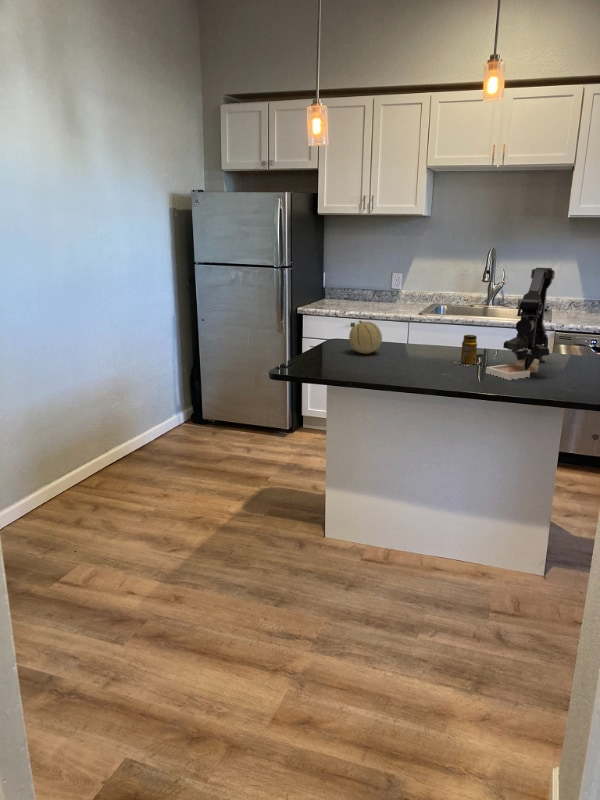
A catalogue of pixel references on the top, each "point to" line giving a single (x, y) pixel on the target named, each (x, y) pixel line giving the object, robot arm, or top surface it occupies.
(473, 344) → the condiment
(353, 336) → the cantaloupe
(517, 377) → the corral
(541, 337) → the robot arm
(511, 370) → the tile
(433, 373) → the top surface
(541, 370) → the top surface
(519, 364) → the scraper
